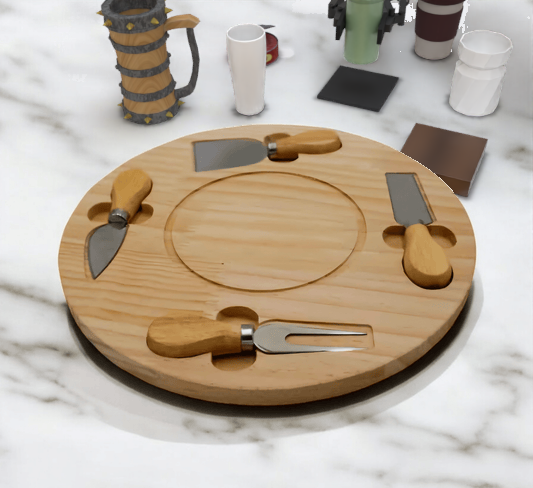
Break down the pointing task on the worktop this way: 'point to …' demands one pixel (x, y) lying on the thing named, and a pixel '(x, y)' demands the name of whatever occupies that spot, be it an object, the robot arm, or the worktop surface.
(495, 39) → the vase
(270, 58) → the canned food
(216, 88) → the worktop surface
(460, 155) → the display stand
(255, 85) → the drinking glass
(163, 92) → the mug
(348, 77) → the mat
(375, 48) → the tumbler
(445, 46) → the coffee cup
